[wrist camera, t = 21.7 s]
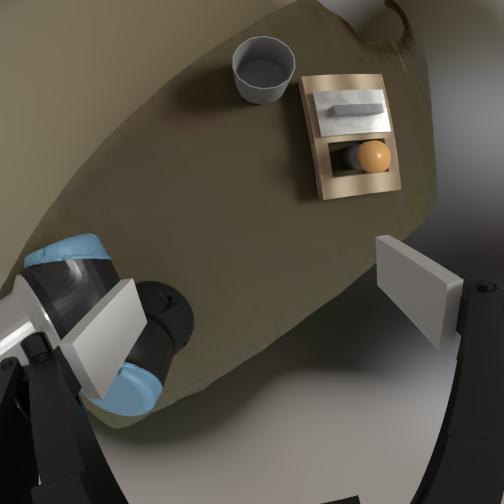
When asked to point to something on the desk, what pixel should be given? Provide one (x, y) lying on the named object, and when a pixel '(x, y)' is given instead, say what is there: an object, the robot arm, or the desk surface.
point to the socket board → (346, 139)
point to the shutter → (350, 112)
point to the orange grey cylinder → (367, 157)
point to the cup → (262, 69)
